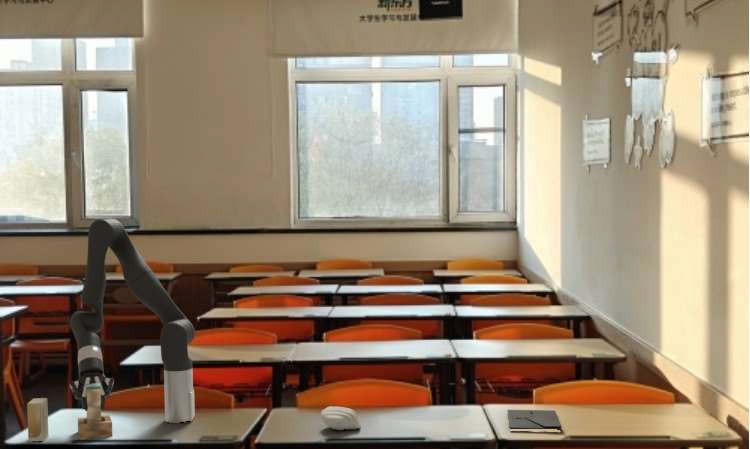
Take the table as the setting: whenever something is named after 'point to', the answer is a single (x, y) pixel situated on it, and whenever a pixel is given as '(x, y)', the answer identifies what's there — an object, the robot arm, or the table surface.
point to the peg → (93, 402)
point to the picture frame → (533, 419)
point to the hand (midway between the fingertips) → (94, 408)
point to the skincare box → (37, 419)
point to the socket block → (94, 428)
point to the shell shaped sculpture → (340, 418)
